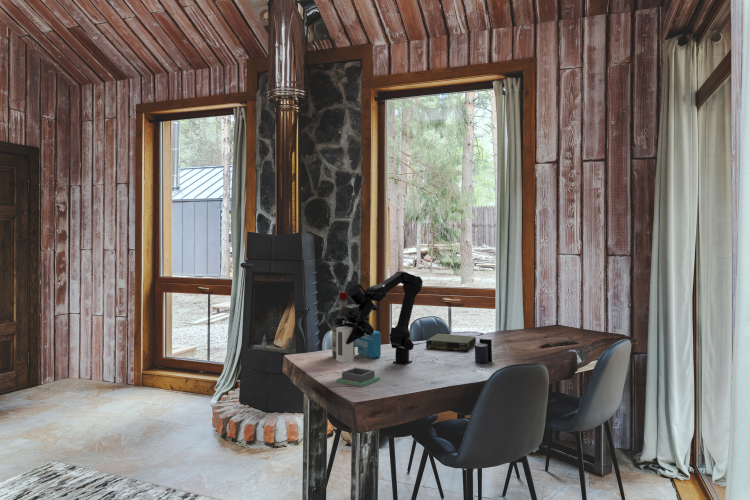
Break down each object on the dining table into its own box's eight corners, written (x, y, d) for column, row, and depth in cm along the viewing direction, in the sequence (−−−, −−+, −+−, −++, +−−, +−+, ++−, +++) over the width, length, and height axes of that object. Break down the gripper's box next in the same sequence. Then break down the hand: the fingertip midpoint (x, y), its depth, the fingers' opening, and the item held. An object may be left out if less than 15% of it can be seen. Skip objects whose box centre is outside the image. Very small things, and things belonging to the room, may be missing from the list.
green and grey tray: (354, 375, 196) (354, 366, 196) (379, 379, 189) (379, 370, 189) (336, 382, 186) (336, 372, 186) (362, 386, 179) (362, 377, 179)
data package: (357, 354, 234) (357, 329, 234) (364, 353, 237) (364, 328, 237) (373, 359, 225) (373, 332, 225) (380, 357, 227) (380, 331, 227)
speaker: (481, 359, 223) (480, 337, 222) (492, 361, 219) (492, 339, 218) (472, 363, 217) (471, 341, 216) (483, 366, 213) (483, 343, 212)
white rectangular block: (345, 358, 196) (345, 326, 196) (353, 360, 193) (353, 327, 193) (336, 360, 193) (336, 327, 193) (344, 362, 189) (344, 329, 189)
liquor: (348, 353, 235) (348, 291, 235) (356, 357, 227) (356, 293, 227) (330, 355, 232) (330, 292, 232) (337, 359, 223) (337, 293, 223)
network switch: (424, 350, 245) (424, 340, 245) (433, 342, 268) (433, 332, 268) (471, 353, 238) (471, 343, 238) (476, 344, 261) (476, 335, 261)
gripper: (336, 297, 202) (315, 327, 194) (368, 301, 189) (347, 333, 181) (351, 314, 208) (331, 344, 200) (382, 319, 195) (362, 351, 187)
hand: (342, 343), depth 192 cm, fingers closed on white rectangular block, 5 cm apart
